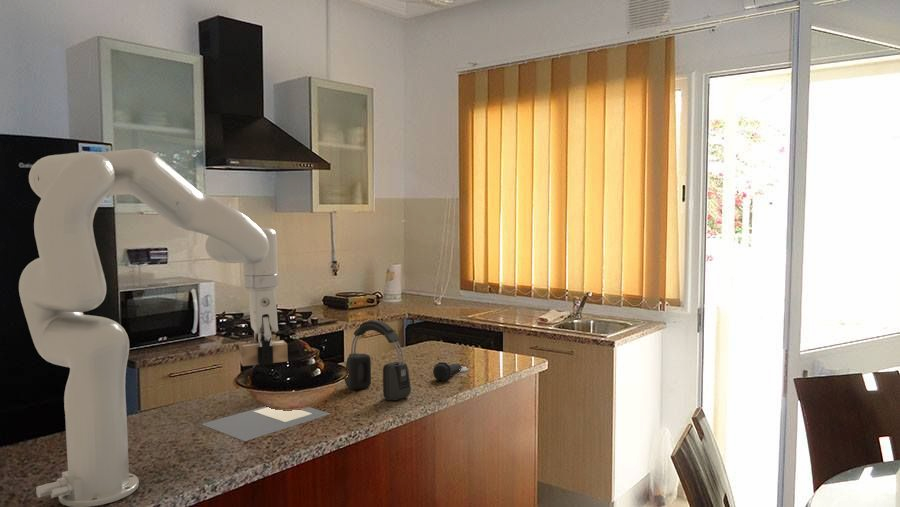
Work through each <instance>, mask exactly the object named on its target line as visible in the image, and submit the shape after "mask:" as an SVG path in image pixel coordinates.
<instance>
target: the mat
mask: <svg viewBox="0 0 900 507" xmlns="http://www.w3.org/2000/svg"><path fill="white" fill-rule="evenodd" d="M266 406H267V405H265V406H261V407H258V408H254V409H251V410H248V411H244V412H243V411H242V412H239V413H237V414H236V413H235V414H232V415H229V416H226V417H221V418H217V419H214V420H211V421H206V422H203V423H201V424H200V425H202V426H204V427H206V428H209V429H212V430H214V431H217V432H218V433H222V434H225V435H227V436H230V437H232V438H235V439H237V440H239V441H243V442H248V441H250V440H253V439H258V438H260V437H263V436H266V435H271V434H273V433H276V432H279V431H283V430H285V429H289V428H291V427H296V426H297V425H301V424H304V423H308V422H310V421H313V420H317V419H320V418H324V417H326V416H329V415H332V413H331V412H326V411H323V410H321V409H317V408H313V407H311V406H308V407H309V408H306V409H301V410H292V411H283V410H275V409H271V408H269V407H266Z"/></svg>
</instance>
